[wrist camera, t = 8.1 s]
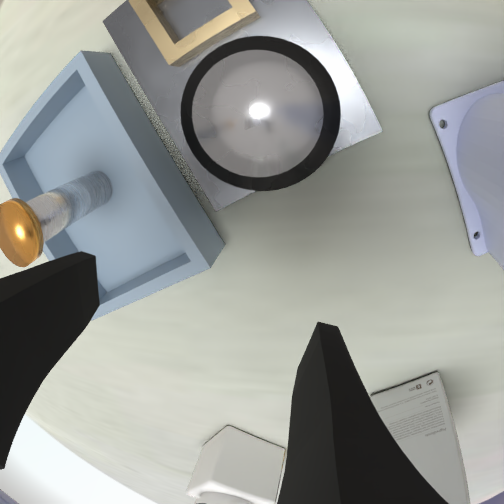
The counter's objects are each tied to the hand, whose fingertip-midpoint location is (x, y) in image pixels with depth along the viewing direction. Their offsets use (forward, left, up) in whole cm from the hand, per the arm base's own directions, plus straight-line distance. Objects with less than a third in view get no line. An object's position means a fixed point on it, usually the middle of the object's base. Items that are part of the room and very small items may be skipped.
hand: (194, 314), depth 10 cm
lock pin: (+6, +9, -10) cm, 14 cm away
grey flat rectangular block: (+8, -3, -10) cm, 13 cm away
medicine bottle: (-23, +15, -11) cm, 29 cm away
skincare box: (-22, -4, -11) cm, 25 cm away
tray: (+6, +9, -10) cm, 15 cm away
